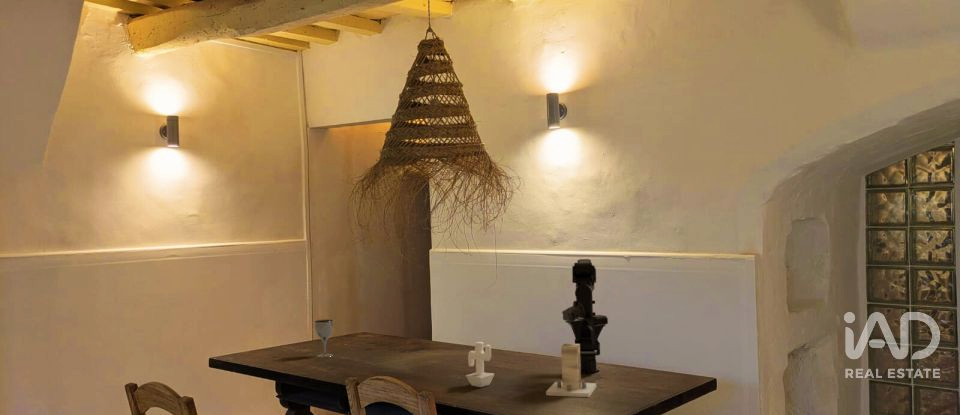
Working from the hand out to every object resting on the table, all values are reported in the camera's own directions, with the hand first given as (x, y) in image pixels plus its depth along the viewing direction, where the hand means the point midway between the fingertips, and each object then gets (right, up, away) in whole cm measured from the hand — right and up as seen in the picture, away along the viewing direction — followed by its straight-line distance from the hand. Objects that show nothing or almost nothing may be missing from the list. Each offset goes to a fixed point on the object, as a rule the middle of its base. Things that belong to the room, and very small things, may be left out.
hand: (585, 342), depth 282 cm
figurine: (-37, -15, -3) cm, 40 cm away
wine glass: (-103, -16, +61) cm, 121 cm away
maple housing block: (-7, -12, -16) cm, 21 cm away
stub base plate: (-7, -13, -16) cm, 22 cm away
